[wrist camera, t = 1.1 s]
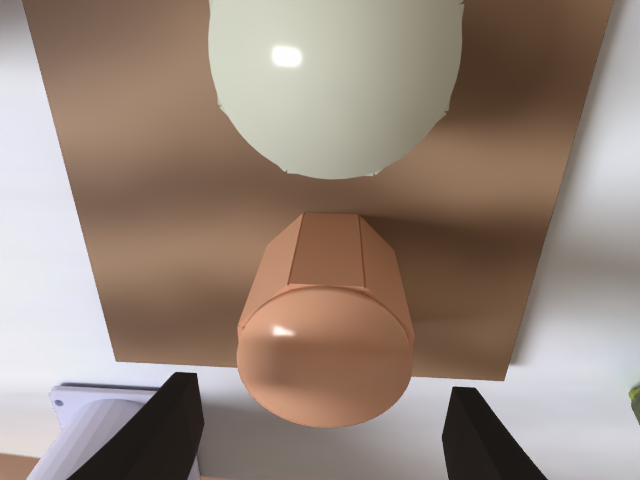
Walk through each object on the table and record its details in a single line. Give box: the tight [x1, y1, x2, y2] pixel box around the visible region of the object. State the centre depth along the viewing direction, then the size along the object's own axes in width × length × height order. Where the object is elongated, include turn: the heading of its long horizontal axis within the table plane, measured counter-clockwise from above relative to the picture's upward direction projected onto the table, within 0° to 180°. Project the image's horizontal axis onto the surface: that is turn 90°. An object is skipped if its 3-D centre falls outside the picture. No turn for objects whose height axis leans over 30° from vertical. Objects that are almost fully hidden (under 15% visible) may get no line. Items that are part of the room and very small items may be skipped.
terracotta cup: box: [237, 212, 415, 428], centre depth 16 cm, size 6×6×6 cm
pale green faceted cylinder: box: [208, 0, 464, 179], centre depth 12 cm, size 6×6×6 cm
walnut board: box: [22, 0, 614, 381], centre depth 18 cm, size 18×20×1 cm
